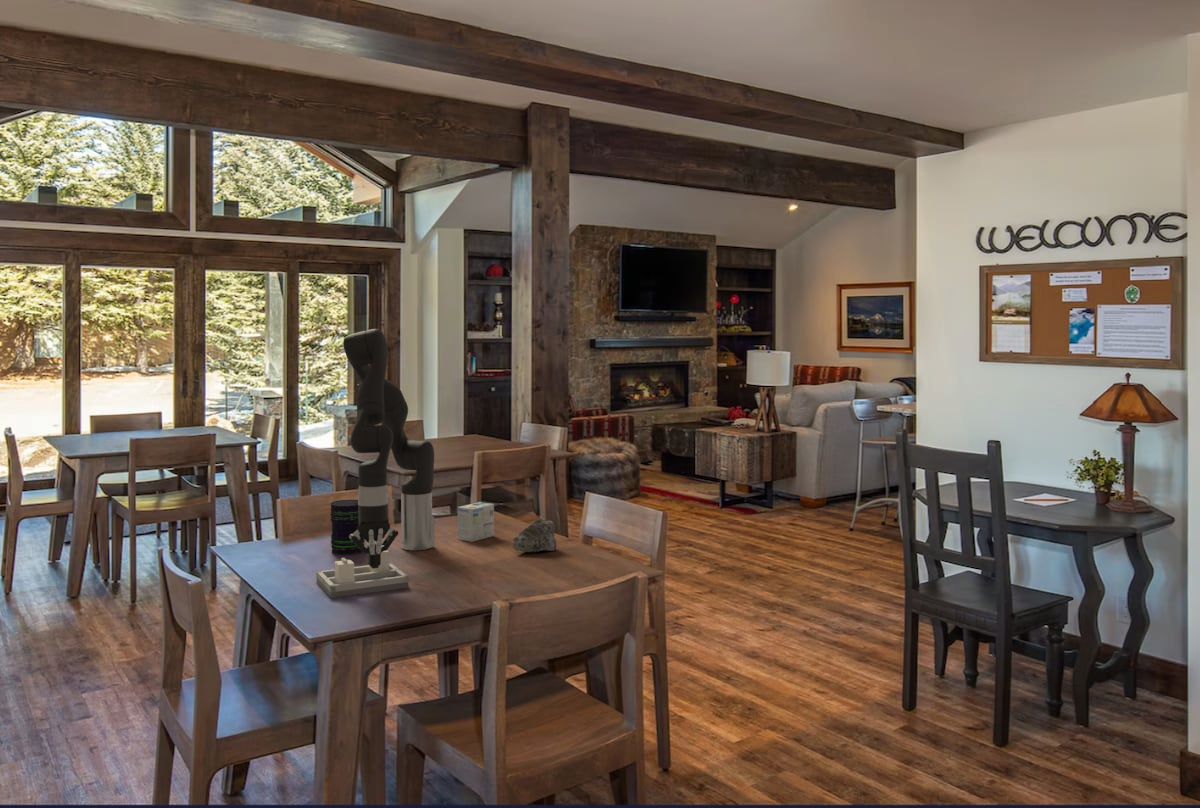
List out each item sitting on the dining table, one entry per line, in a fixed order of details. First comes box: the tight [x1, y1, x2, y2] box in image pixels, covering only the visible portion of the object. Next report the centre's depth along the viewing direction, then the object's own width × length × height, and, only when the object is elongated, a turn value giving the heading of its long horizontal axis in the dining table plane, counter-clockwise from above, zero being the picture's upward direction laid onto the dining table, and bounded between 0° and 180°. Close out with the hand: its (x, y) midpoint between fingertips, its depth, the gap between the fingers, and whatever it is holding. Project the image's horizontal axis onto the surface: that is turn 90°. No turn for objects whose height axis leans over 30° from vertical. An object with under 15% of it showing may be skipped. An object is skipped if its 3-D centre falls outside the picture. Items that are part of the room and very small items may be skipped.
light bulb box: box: [457, 501, 495, 543], centre depth 299 cm, size 11×7×11 cm, turn 144°
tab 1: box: [334, 557, 355, 584], centre depth 238 cm, size 4×4×7 cm
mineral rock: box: [512, 518, 557, 553], centre depth 282 cm, size 13×11×10 cm
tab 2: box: [370, 549, 390, 572], centre depth 250 cm, size 4×4×7 cm
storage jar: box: [330, 499, 366, 556], centre depth 280 cm, size 10×10×15 cm
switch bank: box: [316, 562, 409, 599], centre depth 244 cm, size 20×16×3 cm
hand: (374, 567), depth 242 cm, fingers closed
